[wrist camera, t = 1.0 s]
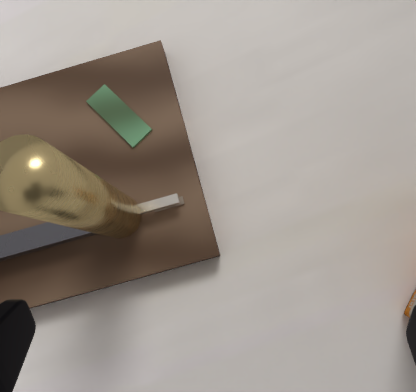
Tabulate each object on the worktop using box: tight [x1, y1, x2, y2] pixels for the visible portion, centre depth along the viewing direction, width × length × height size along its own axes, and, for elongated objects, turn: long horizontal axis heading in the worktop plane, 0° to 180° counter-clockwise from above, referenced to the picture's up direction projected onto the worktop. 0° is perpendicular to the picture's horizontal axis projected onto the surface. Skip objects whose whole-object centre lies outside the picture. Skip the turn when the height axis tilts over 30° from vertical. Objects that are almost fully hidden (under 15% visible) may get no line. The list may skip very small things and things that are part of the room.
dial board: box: [0, 40, 220, 308], centre depth 24 cm, size 16×19×2 cm
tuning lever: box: [0, 135, 180, 261], centre depth 17 cm, size 4×17×10 cm, turn 105°
